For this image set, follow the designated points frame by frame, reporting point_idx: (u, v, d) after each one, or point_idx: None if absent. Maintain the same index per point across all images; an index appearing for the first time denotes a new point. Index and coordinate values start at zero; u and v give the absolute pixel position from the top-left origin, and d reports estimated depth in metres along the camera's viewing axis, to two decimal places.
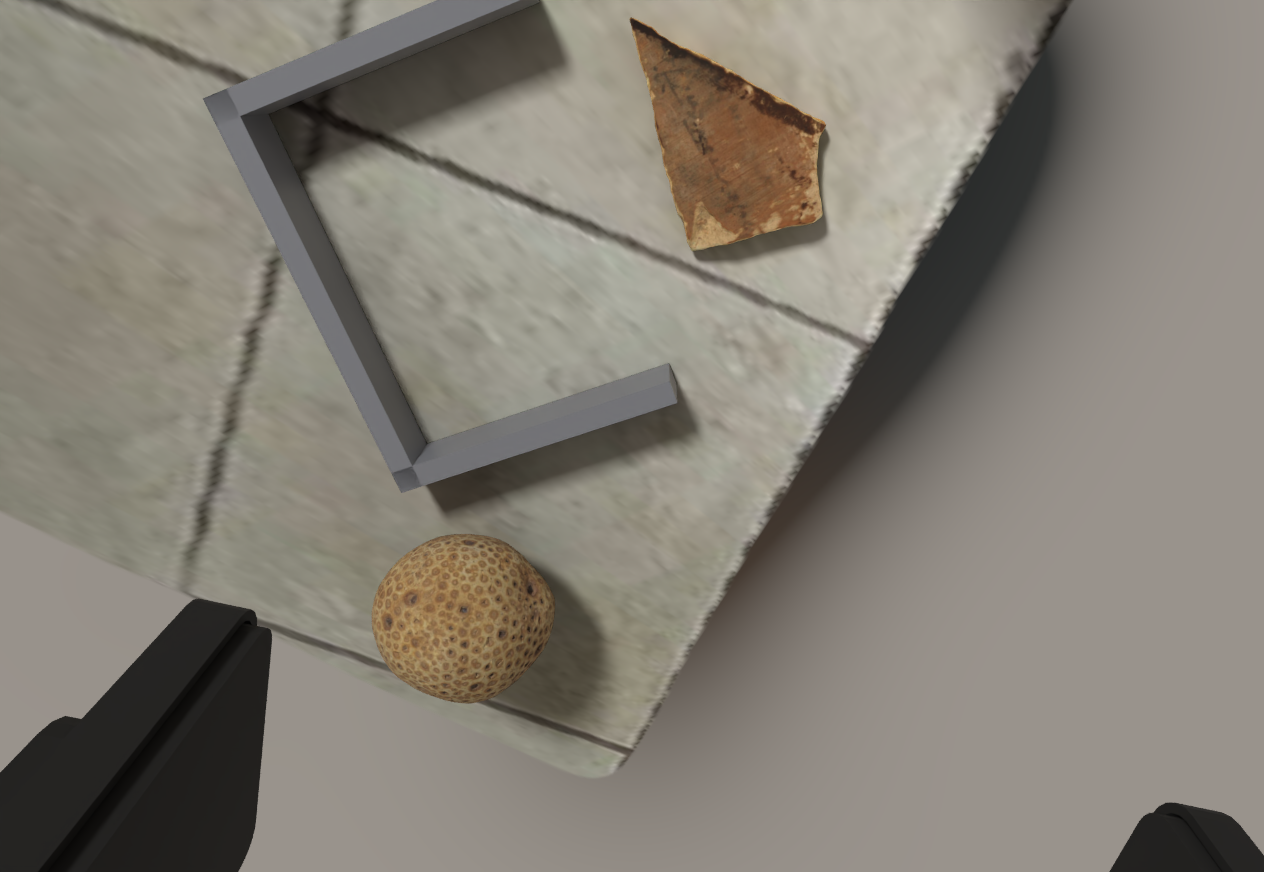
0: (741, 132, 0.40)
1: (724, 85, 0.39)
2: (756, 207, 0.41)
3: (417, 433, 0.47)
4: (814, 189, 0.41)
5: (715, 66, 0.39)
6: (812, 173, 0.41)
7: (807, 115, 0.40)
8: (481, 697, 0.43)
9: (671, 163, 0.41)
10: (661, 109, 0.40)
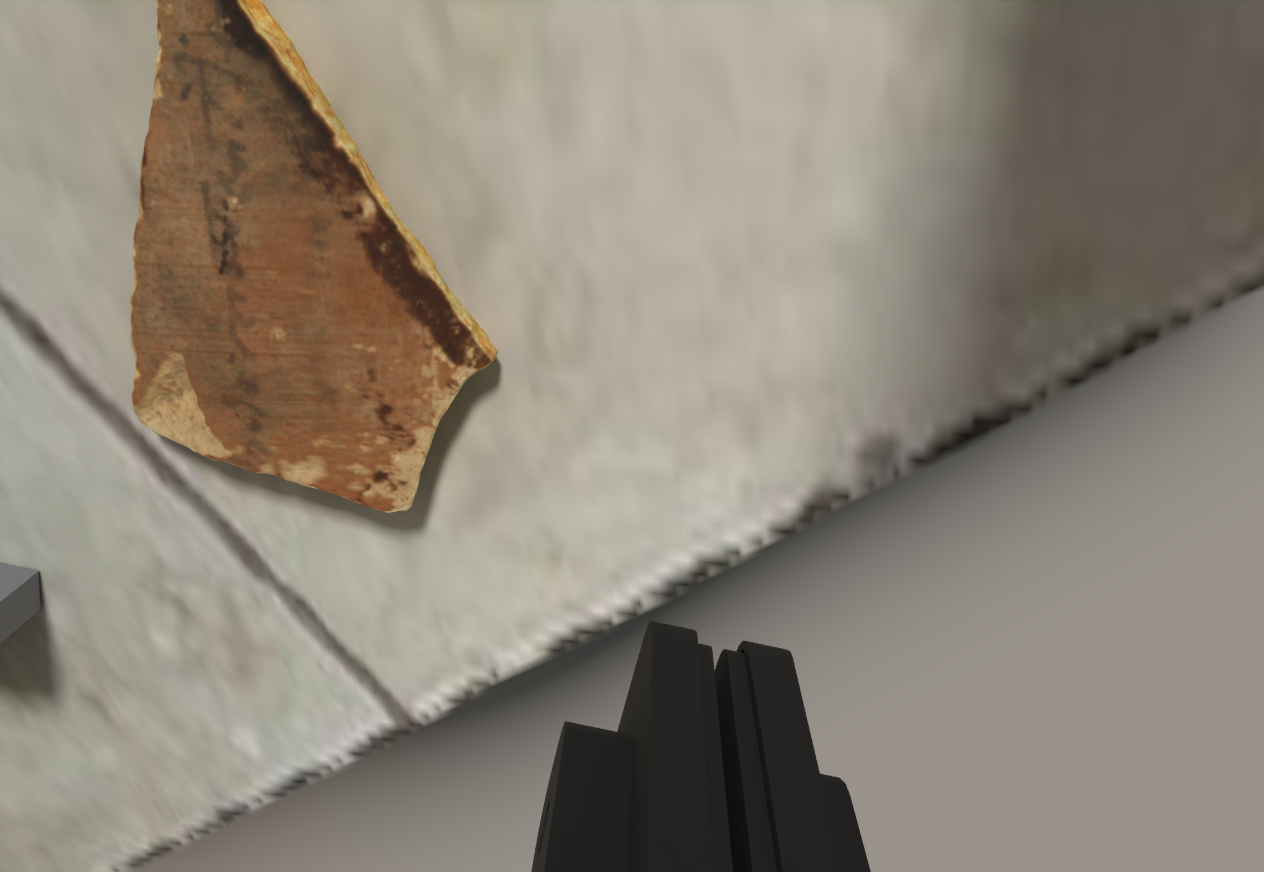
0: (314, 279, 0.18)
1: (318, 168, 0.17)
2: (285, 428, 0.19)
3: None
4: (414, 459, 0.19)
5: (317, 118, 0.17)
6: (423, 430, 0.19)
7: (464, 324, 0.18)
8: None
9: (149, 248, 0.18)
10: (165, 131, 0.17)
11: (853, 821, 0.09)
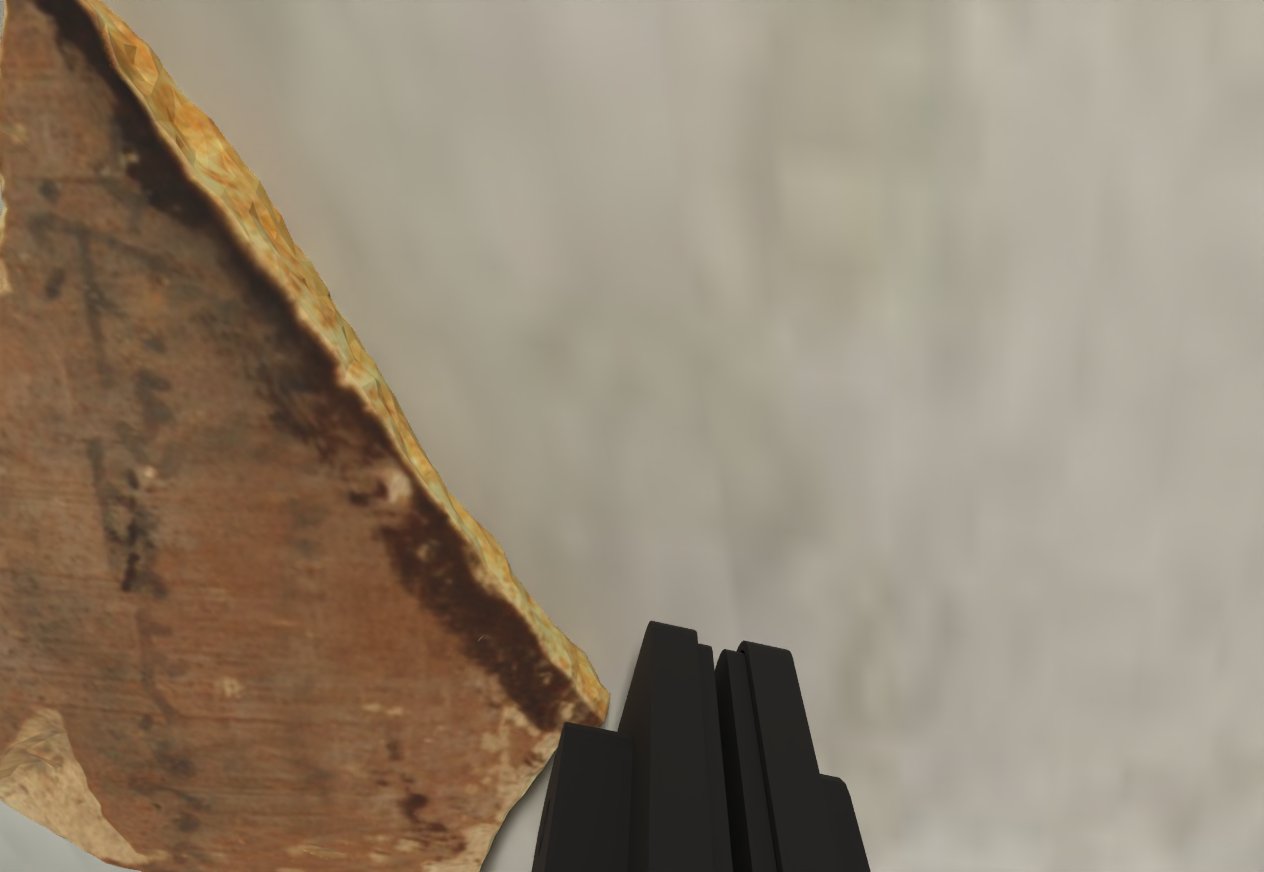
0: (295, 601, 0.10)
1: (305, 421, 0.09)
2: (240, 828, 0.11)
3: None
4: (461, 871, 0.11)
5: (305, 335, 0.09)
6: (479, 829, 0.11)
7: (560, 668, 0.10)
8: None
9: None
10: (19, 351, 0.09)
11: (853, 821, 0.09)
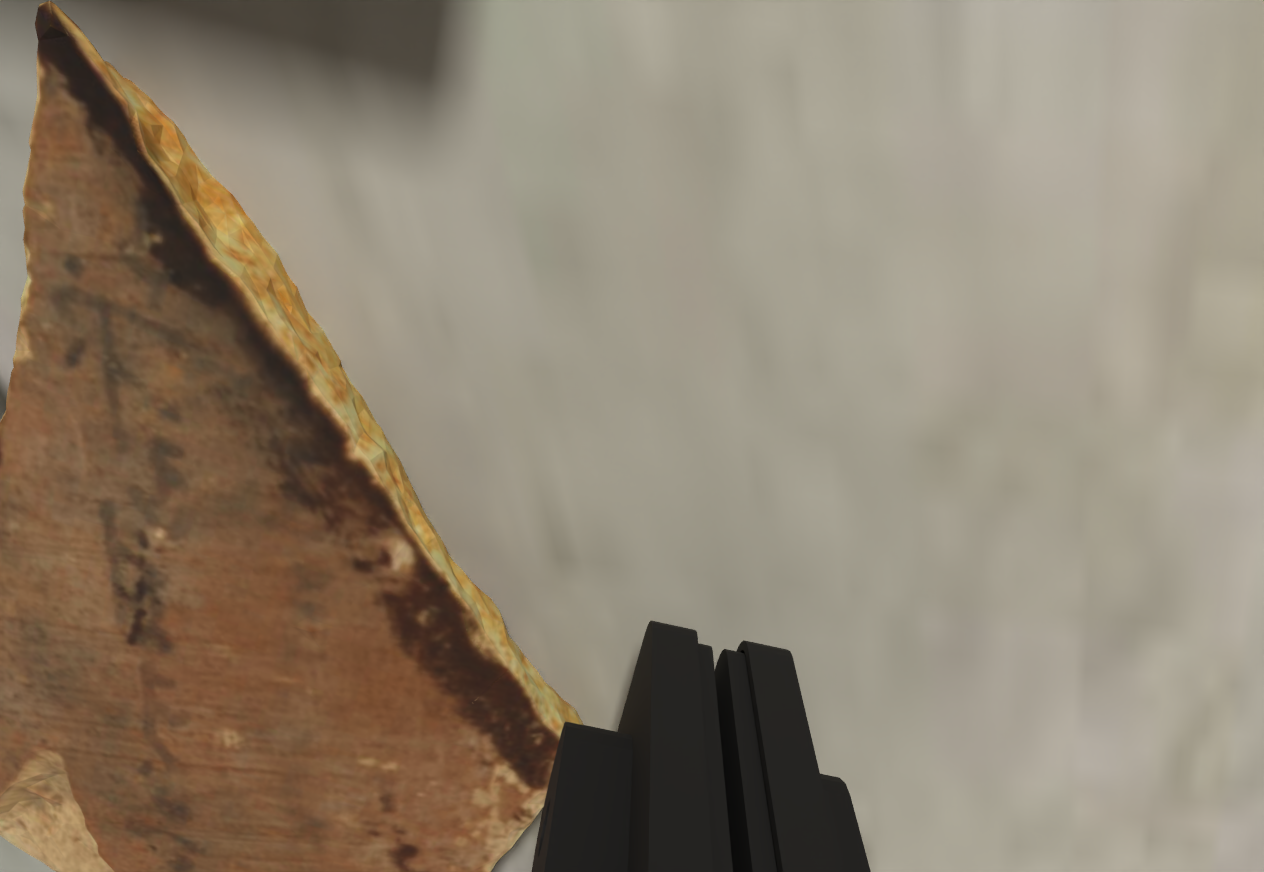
0: (296, 660, 0.10)
1: (314, 491, 0.09)
2: None
3: None
4: None
5: (317, 410, 0.09)
6: None
7: (551, 730, 0.11)
8: None
9: (6, 593, 0.10)
10: (37, 414, 0.09)
11: (853, 821, 0.09)
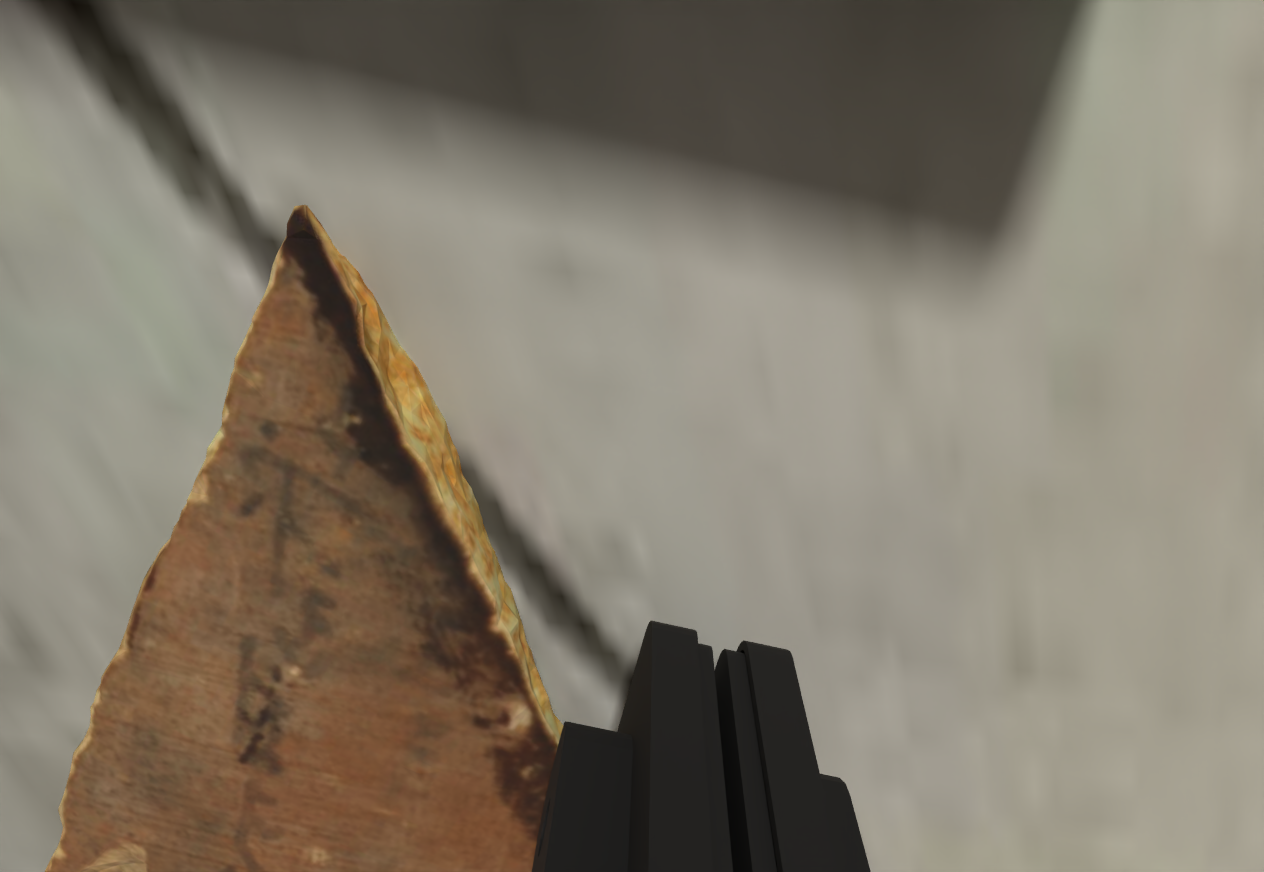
0: (400, 796, 0.11)
1: (451, 654, 0.10)
2: None
3: None
4: None
5: (471, 585, 0.10)
6: None
7: None
8: None
9: (126, 700, 0.10)
10: (199, 551, 0.10)
11: (853, 821, 0.09)
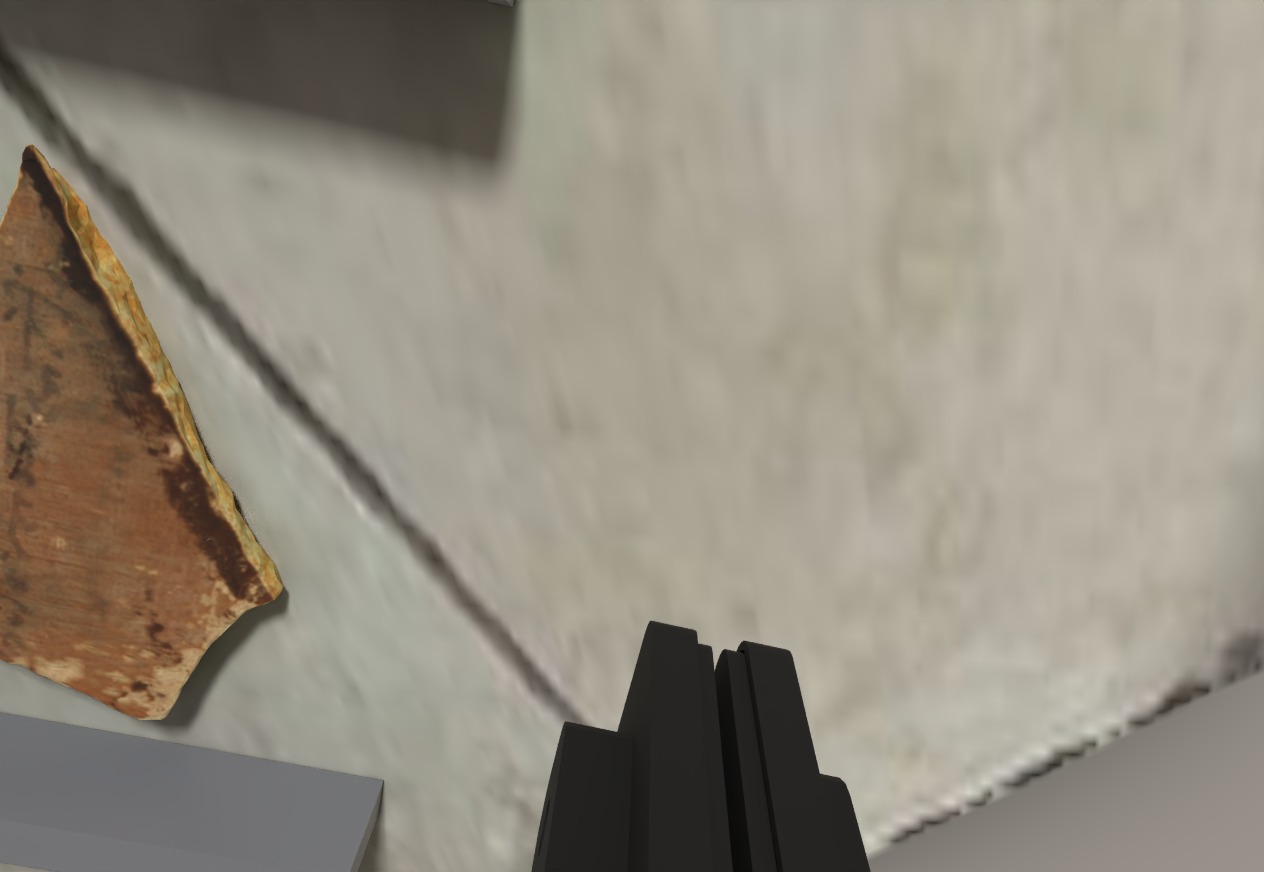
0: (107, 501, 0.18)
1: (131, 407, 0.17)
2: (48, 628, 0.19)
3: None
4: (177, 676, 0.20)
5: (139, 364, 0.17)
6: (192, 651, 0.19)
7: (252, 564, 0.19)
8: None
9: None
10: None
11: (853, 821, 0.09)
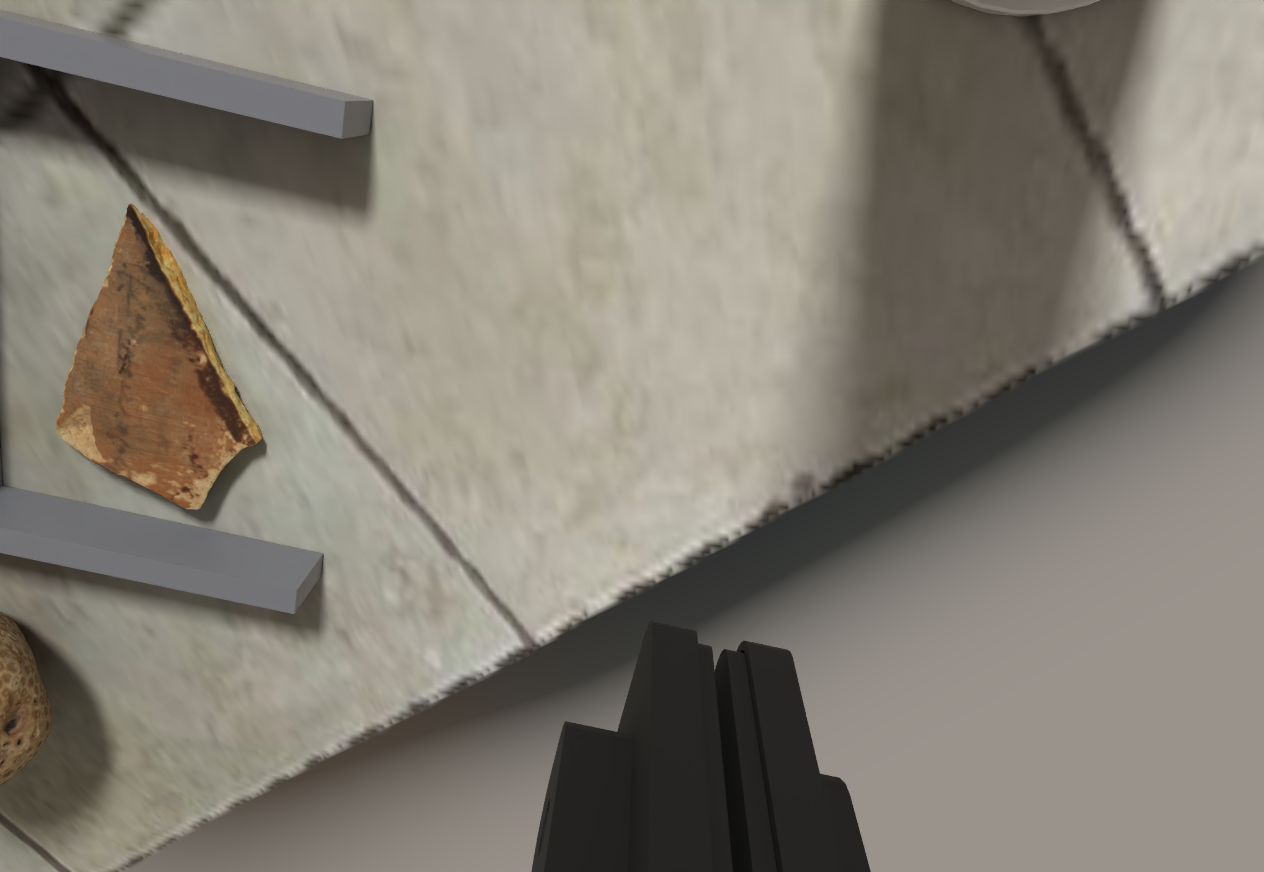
0: (168, 386, 0.34)
1: (180, 336, 0.34)
2: (138, 455, 0.35)
3: None
4: (205, 484, 0.36)
5: (184, 314, 0.34)
6: (213, 470, 0.36)
7: (244, 423, 0.35)
8: None
9: (84, 352, 0.34)
10: (106, 302, 0.33)
11: (853, 821, 0.09)
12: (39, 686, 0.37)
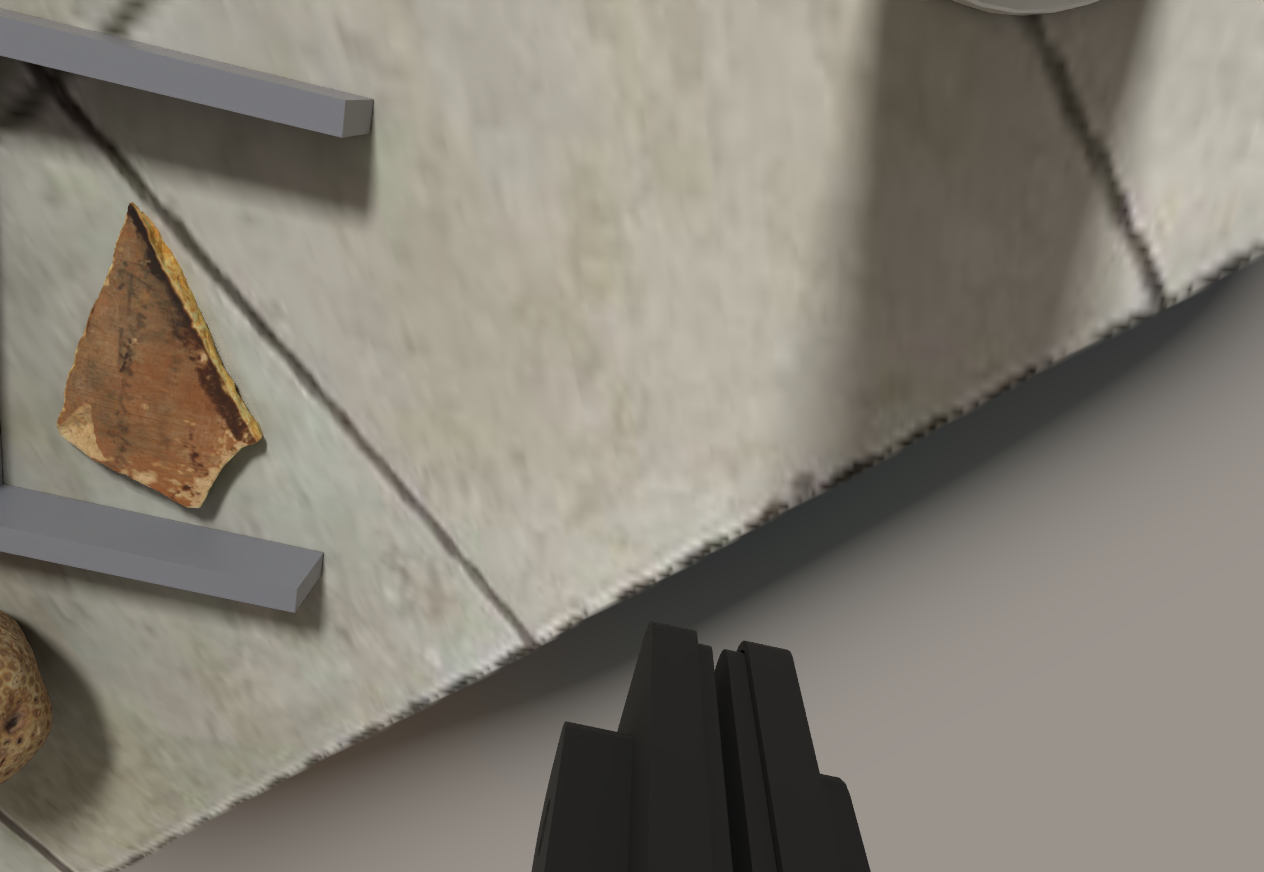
0: (169, 384, 0.34)
1: (181, 335, 0.34)
2: (139, 453, 0.36)
3: None
4: (206, 482, 0.36)
5: (185, 312, 0.34)
6: (213, 469, 0.36)
7: (244, 421, 0.35)
8: None
9: (85, 351, 0.34)
10: (106, 300, 0.33)
11: (853, 821, 0.09)
12: (40, 685, 0.37)
